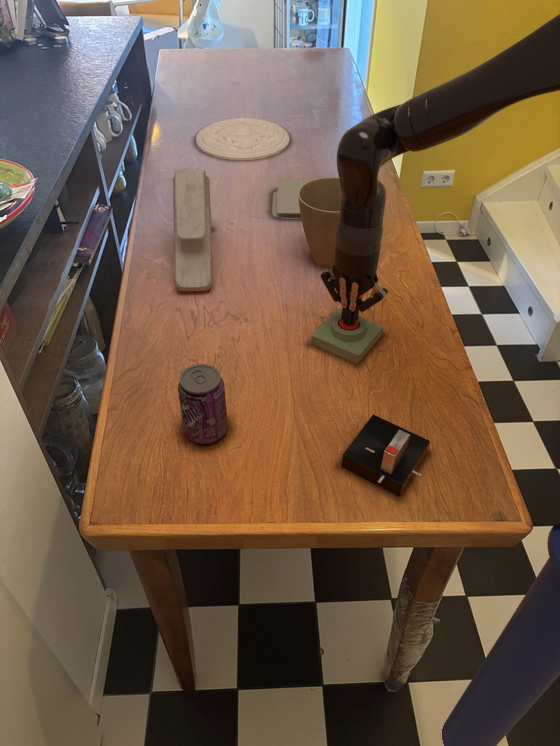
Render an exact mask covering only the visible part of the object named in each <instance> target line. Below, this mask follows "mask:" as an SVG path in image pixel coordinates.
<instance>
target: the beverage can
mask: <svg viewBox="0 0 560 746" xmlns="http://www.w3.org/2000/svg"><path fill="white" fill-rule="evenodd" d="M177 394H178V399H179V406H180V413H181V421H182V425H183V432H184V435H185V436H186V437H187V438H188V440H190V441H191V442H193V443H195V444H201V445H207V444H213V443H215V442H218V441H220V440H221V439H222V438H223V437H224V436H225V435H226V433H227V431H228V412H227V401H226V388H225V381H224V379H223V377H222V376H221V373H220V370H218V369H217V367H215V366H213V365H211V364H206V363H197V364H193V365H190V366H188V367H186V368H184V369H183V371H182V372H181V373H180V376H179V382H178V385H177Z"/></svg>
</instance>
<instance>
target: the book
mask: <svg viewBox="0 0 560 746" xmlns="http://www.w3.org/2000/svg"><path fill="white" fill-rule="evenodd" d="M314 179H315V178H280V177H279V178H277V190H275V191H274V192H273V194H272V205H271V208H272V209H271V213H272V216H273V217H275V218H277V219H282V220H301V214H300V207H299V200H298V191H299V189H300V187H301V186H302V185H303V184H305V183H306V182H308V181H311V180H314Z"/></svg>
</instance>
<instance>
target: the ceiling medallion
mask: <svg viewBox="0 0 560 746" xmlns="http://www.w3.org/2000/svg"><path fill="white" fill-rule="evenodd" d="M195 144H196V146H197V147H198V149H199V150H200V151H202V152H204V154H206V155H209V156H212V157H214V158H218V159H222V160H230V161H254V160H262V159H266V158H270V157H272V156H275V155H278V154H280V153H281V152H283V151H284V150H285V149H287V147H288V146H289V144H290V134H289V133H288V132H287V130H286V129H285V128H283V127H281V126H280V125H278V124H276V123H273V122H271V121H269V120H265V119H261V118H252V117H251V118H250V117H237V118H227V119H222V120H220V121H215V122H213V123H211V124H208V125H206V126H205V127H204V128H202V129H201V130H200V131H198V133H197V135H196V136H195Z"/></svg>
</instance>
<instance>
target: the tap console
mask: <svg viewBox="0 0 560 746" xmlns="http://www.w3.org/2000/svg"><path fill="white" fill-rule="evenodd" d="M399 430H402V431H404V432H406V433H408V434H410V438H409V442H408V446H407V450H406V454H405V455H404V457H403V458H402V460H401V461H400V463H399V464H398V466H397V467H396V469H395V470H394V472H393V473H392V475H389V474H387V473H385V472H383V471H381V470H380V469H381V465H382V460H383V455H384V451H385V449H386V448H387V446H388V445H389V444H390V442H391V441H392V439H393V438H394V436H395V435H396V434H397V432H398V431H399ZM430 444H431V440H429V439H427V438H425V437H423V436H420V435H418V434H416V433H414V432H412V431H410V430H408V429H406V428H404V427H401V426H400V425H397V424H395V423H392V422H391V421H389V420H387V419H384V418H382V417H381V416H378V415H376V414H372V415H371V416H370V417H369V419H368V421H367V422H366V423H365V424H364V426H363V427H362V428H361V430H360V431H359V432H358V434H357V435H356V436H355V437H354V439H353V440H352V442H350V444H349V445H348V447H347V448H346V450H345V451H344V452H343V453H342V458H341V467H342V468H343V469H346V470H347V471H349V472H351V473H353V474H355V475H356V476H358V477H361V478H362V479H365V480H366V481H369V482H370V483H372V484H375V485H376V486H378V487H380V488H382V489H384V490H386V491H388V492H389V493H391V494H394V495H396V496H398V497H400V496H401V495H402V494H403V492H404V491H405V489H406V487H407V486H408V484H409V483H410V481H411V479H412V478H413V476H414V475H416V476H418V477H420V478H421V477H422V476H423V474H422V473H420V472H418V471H417V469H418V468H419V467H420V465H421V463H422V462H423V460H424V458H425V457H426V455H427V453H428V450H429V447H430Z"/></svg>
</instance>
